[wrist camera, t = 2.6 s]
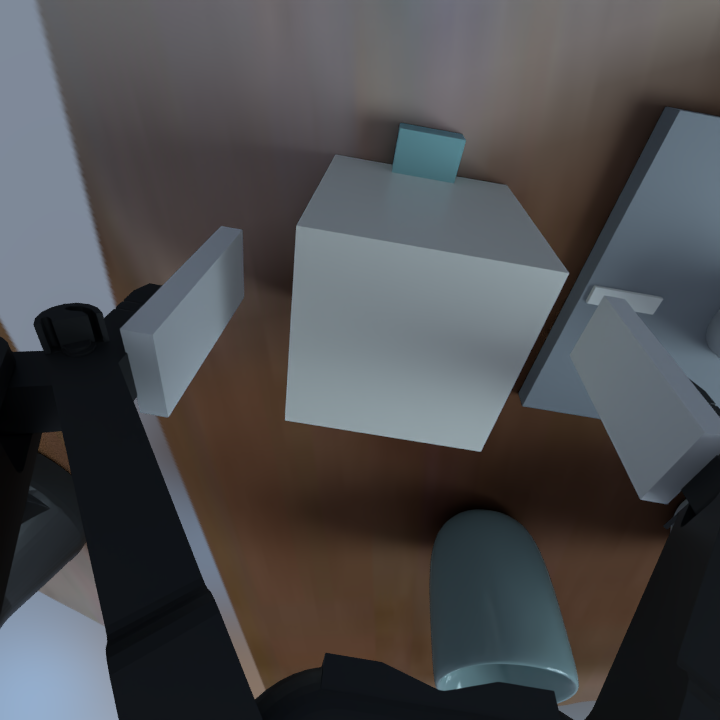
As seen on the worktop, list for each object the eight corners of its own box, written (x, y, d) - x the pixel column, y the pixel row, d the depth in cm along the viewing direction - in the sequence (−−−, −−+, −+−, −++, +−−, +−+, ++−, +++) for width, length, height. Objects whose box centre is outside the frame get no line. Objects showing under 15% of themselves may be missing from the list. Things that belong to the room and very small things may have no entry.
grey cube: (317, 329, 22) (283, 448, 16) (339, 111, 16) (299, 161, 10) (448, 351, 22) (468, 477, 16) (521, 144, 16) (598, 214, 10)
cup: (555, 510, 30) (611, 681, 22) (499, 561, 34) (529, 718, 27) (454, 482, 29) (474, 651, 21) (410, 538, 33) (413, 694, 26)
